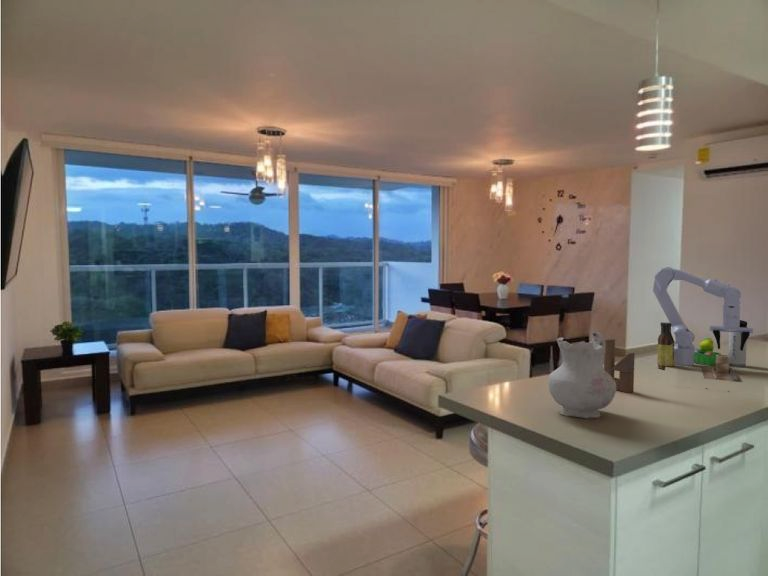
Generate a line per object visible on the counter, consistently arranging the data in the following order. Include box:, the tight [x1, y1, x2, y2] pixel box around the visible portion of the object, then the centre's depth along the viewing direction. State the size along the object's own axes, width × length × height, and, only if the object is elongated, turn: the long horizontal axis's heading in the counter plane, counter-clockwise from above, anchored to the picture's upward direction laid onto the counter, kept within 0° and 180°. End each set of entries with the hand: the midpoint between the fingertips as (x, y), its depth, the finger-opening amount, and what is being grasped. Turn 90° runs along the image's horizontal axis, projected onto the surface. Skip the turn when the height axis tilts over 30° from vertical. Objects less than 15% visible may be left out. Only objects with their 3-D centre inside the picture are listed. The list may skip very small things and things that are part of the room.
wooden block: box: [603, 337, 635, 394], centre depth 181 cm, size 4×11×18 cm, turn 31°
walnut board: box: [700, 366, 743, 383], centre depth 197 cm, size 12×22×2 cm, turn 150°
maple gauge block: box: [713, 354, 730, 372], centre depth 203 cm, size 5×5×6 cm
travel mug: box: [728, 319, 748, 368], centre depth 218 cm, size 6×7×20 cm
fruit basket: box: [694, 337, 722, 366], centre depth 223 cm, size 11×9×11 cm
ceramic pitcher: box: [547, 330, 617, 420], centre depth 155 cm, size 22×20×25 cm
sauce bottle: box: [657, 321, 675, 370], centre depth 213 cm, size 6×6×20 cm
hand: (730, 349), depth 206 cm, fingers open, 7 cm apart
